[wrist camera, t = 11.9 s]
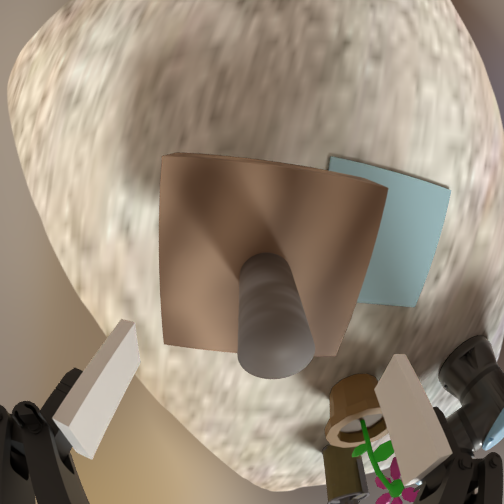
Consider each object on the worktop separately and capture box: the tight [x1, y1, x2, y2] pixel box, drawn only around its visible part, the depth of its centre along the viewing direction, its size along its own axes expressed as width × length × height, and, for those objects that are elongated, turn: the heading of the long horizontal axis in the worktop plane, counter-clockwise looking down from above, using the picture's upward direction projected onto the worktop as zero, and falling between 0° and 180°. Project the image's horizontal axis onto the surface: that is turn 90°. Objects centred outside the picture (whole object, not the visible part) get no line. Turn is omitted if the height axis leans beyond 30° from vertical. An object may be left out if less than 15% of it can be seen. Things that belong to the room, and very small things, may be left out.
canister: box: [322, 444, 369, 504], centre depth 48 cm, size 11×10×20 cm
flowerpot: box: [324, 374, 419, 504], centre depth 34 cm, size 14×14×30 cm
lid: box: [159, 152, 389, 379], centre depth 19 cm, size 17×17×13 cm
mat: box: [328, 156, 451, 307], centre depth 36 cm, size 20×20×1 cm
